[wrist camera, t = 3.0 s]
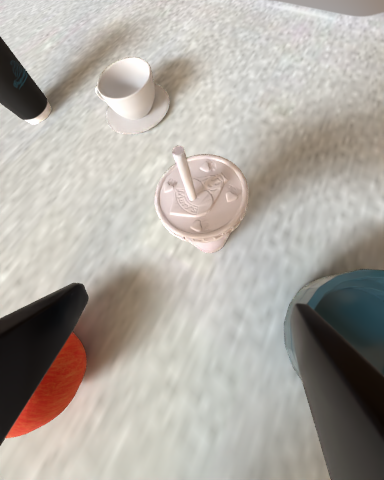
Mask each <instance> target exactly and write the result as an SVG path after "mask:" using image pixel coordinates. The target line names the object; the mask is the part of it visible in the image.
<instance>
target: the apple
mask: <svg viewBox="0 0 384 480" xmlns="http://www.w3.org/2000/svg"><path fill="white" fill-rule="evenodd" d="M86 363H87V359H86V353H85V349H84V347H83V345H82V343H81V341H80V340H79V339H78V337H77V336H76V335H75V334H74V333H73V332H72V333H71V335H70V336H69V338H68V340H67V341H66V343H65V344H64V346H63V348H62V349H61V351H60V352H59V354H58V355H57V357H56V359H55V360H54V362H53V363H52V365H51V367H50V368H49V370H48V371H47V373H46V374H45V376H44V378H43V379H42V381H41V382H40V384H39V386H38V387H37V389H36V390H35V392H34V393H33V395H32V397H31V398H30V400H29V401H28V403H27V405H26V406H25V408H24V409H23V411H22V412H21V414H20V416H19V417H18V419H17V420H16V422H15V423H14V425H13V427H12V428H11V430H10V431H9V433H8V435H7V436H6V438H11V437H16V436H20V435H24V434H26V433H29V432H31V431H33V430H35V429H37V428H39V427H41V426H43V425H45V424H46V423H48V422H50V421H51V420H53V419H54V418H55V417H57V416H58V415H59V414H60V413H61V412H62V411H63V410H64V409H65V408H66V407H67V406H68V404H69V403H70V402H71V400H72V399H73V397H74V396H75V394H76V392H77V390H78V388H79V386H80V383H81V381H82V379H83V376H84V374H85V370H86Z"/></svg>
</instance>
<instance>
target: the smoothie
mask: <svg viewBox="0 0 384 480" xmlns="http://www.w3.org/2000/svg"><path fill="white" fill-rule="evenodd" d="M172 153H173V156H174V159H175V162H176V163H175V164H174V165H172V166H171V167H170V168H169V169H168V170H167V171H166V172H165V173H164V175H163V176H162V177H161V179H160V181H159V183H158V185H157V188H156V192H155V208H156V211H157V214H158V216H159V218H160V220H161V221H162V223H163V225H164V226H165V227H166V228H167V230H168V231H169V232H170V233H171V234H173V235H174V236H176V237H178V238H179V239H181V240H184V241H188V242H190V243H192V244H193V245H194V246H196V247H197V248H198V249H200V250H201V251H203V252H206V253H213V252H216V251H218V250H220V249H221V248H222V247H223V246H224V244H225V242H226V241H227V239H228V237H229V235H230V233H231V232H232V231H233V230H234V229H235V228H236V227H238V225H239V224H240V222H241V221H242V219H243V218H244V216H245V213H246V210H247V206H248V194H249V193H248V185H247V181H246V179H245V177H244V175H243V173H242V172H241V170H240V169H239V168H238V167H237V166H236V165H235V164H233V163H232V162H231V161H229V160H227V159H225V158H223V157H220V156H216V155H209V154H201V155H194V156H190V157H187V158H186V154H185V151H184V148H183V146H181V145H177V146H175V147H174V148H173V149H172Z"/></svg>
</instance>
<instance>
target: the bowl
mask: <svg viewBox="0 0 384 480" xmlns="http://www.w3.org/2000/svg"><path fill="white" fill-rule="evenodd" d="M295 303H305V304H308V305H309V306H310V307H311V308H312V309H313V310H315V311H316V312H317V313H318V314H319V315H320V316H321V317H322V318H323V319H324V320H325V321H326V322H327V323H328V324H330V325H331V326H332V327H333V328H334V329H335V330H336V331H337V332H338V333H339V334H340V335H341V336H342V337H343V338H344V339H346V340H347V341H348V342H349V343H350V344H351V345H352V346H353V347H354V348H355V349H356V350H357V351H358V352H359V353H361V354H362V355H363V356H364V357H365V358H366V359H367V360H368V361H369V362H370V363H371V364H372V365H373V366H374V367H376V368H377V369H378V370H379V371H380V372H381V373H382V374H383V375H384V270H371V269H359V270H355V271H350V272H346V273H341V274H336V275H332V276H328V277H324V278H320V279H316V280H314V281H313V282H311V283H310V284H308V285H307V286H305V287H304V288H302V289H301V290H300V291H299V292H298V293H297V295H296V296H295V297H294V299H293V300H292V302H291V303H290V305H289V307H288V311H287V315H286V318H285V322H284V335H285V345H286V349H287V352H288V355H289V358H290V360H291V363H292V366H293V368H294V370H295V371H296V373H297V374H298V376H299V377H300V379H301V375H300V372H299V368H298V363H297V358H296V353H295V347H294V341H293V336H292V330H291V325H290V317H291V313H292V310H293V306H294V304H295ZM301 380H302V379H301Z"/></svg>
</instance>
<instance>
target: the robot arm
mask: <svg viewBox="0 0 384 480" xmlns="http://www.w3.org/2000/svg"><path fill="white" fill-rule="evenodd" d="M87 302H88V294H87V292H86V290H85V287H84V285H83V284H81V283H72V284H70V285H68V286H66V287H64V288H62V289H59V290H57V291H55V292H53V293H51V294H49V295H47V296H45V297H43V298H41V299H39V300H37V301H35V302H33V303H31V304H29V305H27V306H25V307H23V308H21V309H19V310H17V311H15V312H13V313H11V314H8V315H6V316H4V317H2V318H0V446H1V444H2V442H3V441H4V439H5V438H6V436H7V435H8V433H9V431H10V430H11V428H12V427H13V425H14V423H15V422H16V420H17V419H18V417H19V416H20V414H21V412H22V411H23V409H24V408H25V406H26V405H27V403H28V401H29V400H30V398H31V397H32V395H33V393H34V392H35V390H36V389H37V387H38V386H39V384H40V382H41V381H42V379H43V378H44V376H45V374H46V373H47V371H48V370H49V368H50V367H51V365H52V363H53V362H54V360H55V359H56V357H57V355H58V354H59V352H60V351H61V349H62V348H63V346H64V344H65V343H66V341H67V340H68V338H69V336H70V335H71V333H72V331H73V329H74V327H75V326H76V324H77V322H78V320H79V318H80V316H81V314H82V312H83V310H84V308H85V306H86V304H87ZM290 325H291V330H292V336H293V341H294V347H295V353H296V358H297V363H298V368H299V372H300V375H301V379H302V382H303V386H304V389H305V392H306V396H307V399H308V403H309V406H310V410H311V413H312V417H313V420H314V423H315V427H316V430H317V434H318V437H319V441H320V444H321V448H322V451H323V454H324V458H325V461H326V465H327V468H328V472H329V475H330V479H331V480H384V375H383V374H382V373H381V372H380V371H379V370H378V369H377V368H376V367H374V366H373V365H372V364H371V363H370V362H369V361H368V360H367V359H366V358H365V357H364V356H363V355H362V354H361V353H359V352H358V351H357V350H356V349H355V348H354V347H353V346H352V345H351V344H350V343H349V342H348V341H347V340H346V339H344V338H343V337H342V336H341V335H340V334H339V333H338V332H337V331H336V330H335V329H334V328H333V327H332V326H331V325H330V324H328V323H327V322H326V321H325V320H324V319H323V318H322V317H321V316H320V315H319V314H318V313H317V312H316V311H315V310H313V309H312V308H311V307H310V306H309V305H308V304H305V303H295V304H294V306H293V310H292V313H291V317H290Z"/></svg>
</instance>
